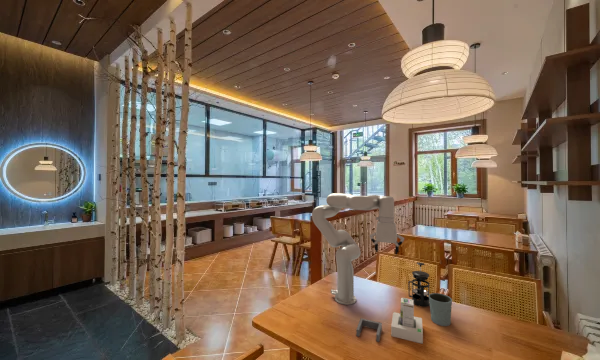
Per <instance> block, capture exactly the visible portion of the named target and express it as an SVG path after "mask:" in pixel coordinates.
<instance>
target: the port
mask: <svg viewBox="0 0 600 360" xmlns="http://www.w3.org/2000/svg"><path fill="white" fill-rule="evenodd" d="M390 326H391V327H390V329H391V330H390V336H391V337H394V338H398V339H401V340H402V339H403V340H405V341H410V342H414V343H417V344H422V345H423V344H424V343H423V342H424V333H423V332H424V330H423V329H424V328H423V318H422V317H418V316H415V315H414V328H411V327H407V326H402V325H400V313H399V312H395V311H394V312H393V313H392V319H391V325H390Z"/></svg>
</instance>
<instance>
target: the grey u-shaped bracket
mask: <svg viewBox="0 0 600 360" xmlns="http://www.w3.org/2000/svg"><path fill="white" fill-rule="evenodd" d="M363 327H364V328H369V329H374V330H376V333H375V335H376V336H375V337H376V338H375V340H376V342H378V343H379V342H380V339H381V335H382V331H383V323H382V322H378V321H374V320H371V319H370V320H369V319H366V318H361V317H360V319H359V322H358V325H357V327H356V330H355V332H356V337H360V336H361V333H362V330H363Z"/></svg>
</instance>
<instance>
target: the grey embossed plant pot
mask: <svg viewBox="0 0 600 360" xmlns="http://www.w3.org/2000/svg"><path fill="white" fill-rule="evenodd" d="M429 303H430V305H429V311H430V319H431V321H432V322H433V323H434V324H436V325H437V326H442V327H449V326H450V325H451V323H452V305H453V300H452V298H451V297H450V296H448V295H446V294H443V293H439V292H436V293H435V292H431V293H429Z"/></svg>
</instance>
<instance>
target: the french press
mask: <svg viewBox="0 0 600 360" xmlns="http://www.w3.org/2000/svg"><path fill="white" fill-rule="evenodd" d="M416 264H417V265H418V266H419V270H413V271H412V272H411V274H412V277H413V278H414V279H412V280H409V281H407V282H408V297H409V298H411V300H414V306H416V307H422V308H426V307H427V308H428V307H430V302H429V295H430V282H429V281H427V280H428V279H429V277H430V274H429V273H428V272H425V271H422V266H425V264H426V263H424V262H416ZM415 282H416V283H415ZM410 283H411V286H410ZM422 283H425V284H426V285H422ZM410 287H411V288H410ZM414 287H416V288H414ZM426 288H427V290H428V291H427V290H426ZM410 289H411V292H410ZM410 293H411V295H410Z"/></svg>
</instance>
